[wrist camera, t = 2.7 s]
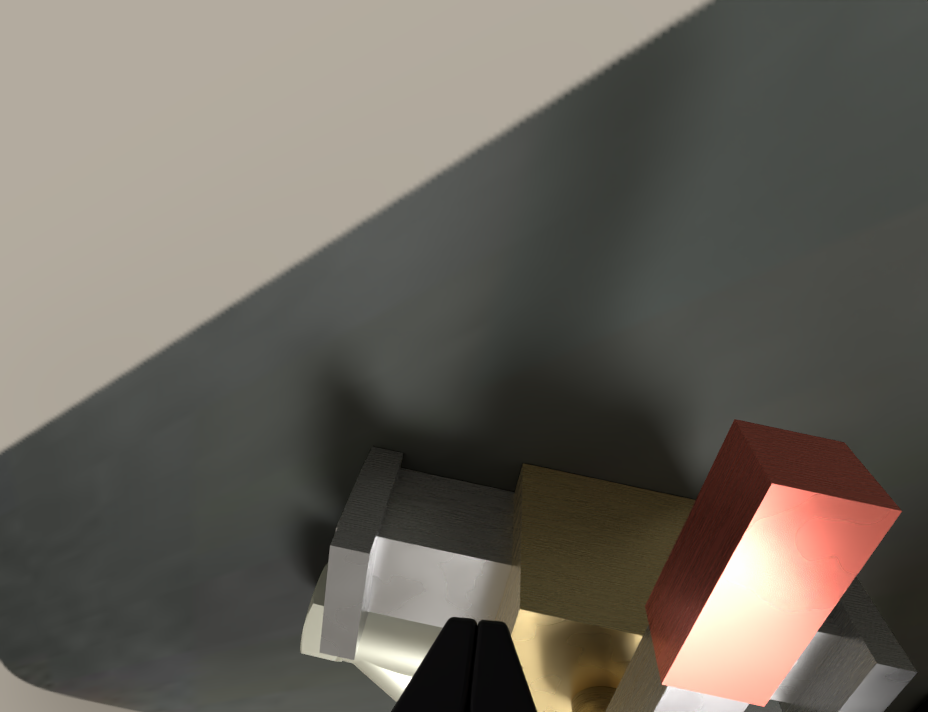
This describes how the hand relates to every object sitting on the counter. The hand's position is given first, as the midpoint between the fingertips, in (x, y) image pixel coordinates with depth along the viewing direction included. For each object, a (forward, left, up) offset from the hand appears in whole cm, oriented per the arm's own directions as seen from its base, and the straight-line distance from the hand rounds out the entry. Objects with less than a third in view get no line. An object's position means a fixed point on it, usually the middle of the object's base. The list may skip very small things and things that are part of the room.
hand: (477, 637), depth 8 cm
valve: (-5, +8, -12) cm, 15 cm away
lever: (-5, +4, -3) cm, 7 cm away
